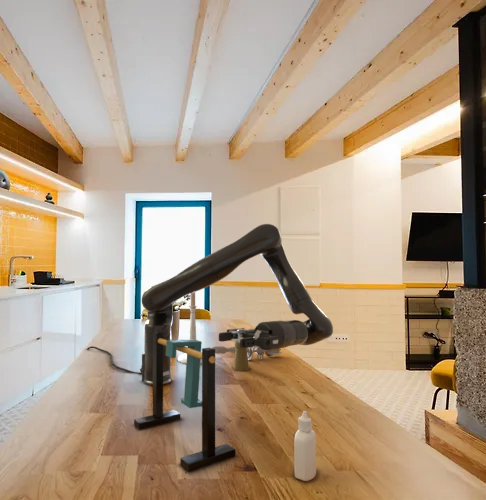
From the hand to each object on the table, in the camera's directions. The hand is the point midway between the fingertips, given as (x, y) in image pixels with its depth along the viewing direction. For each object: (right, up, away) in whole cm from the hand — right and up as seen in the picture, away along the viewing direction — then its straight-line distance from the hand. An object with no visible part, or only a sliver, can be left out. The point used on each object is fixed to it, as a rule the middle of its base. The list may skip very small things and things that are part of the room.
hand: (229, 340), depth 96 cm
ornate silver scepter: (+17, -24, +64) cm, 70 cm away
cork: (+12, -23, +51) cm, 57 cm away
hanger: (-12, -13, -8) cm, 20 cm away
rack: (-13, -21, -9) cm, 26 cm away
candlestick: (-6, -24, +63) cm, 68 cm away
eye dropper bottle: (+11, -21, -23) cm, 33 cm away
